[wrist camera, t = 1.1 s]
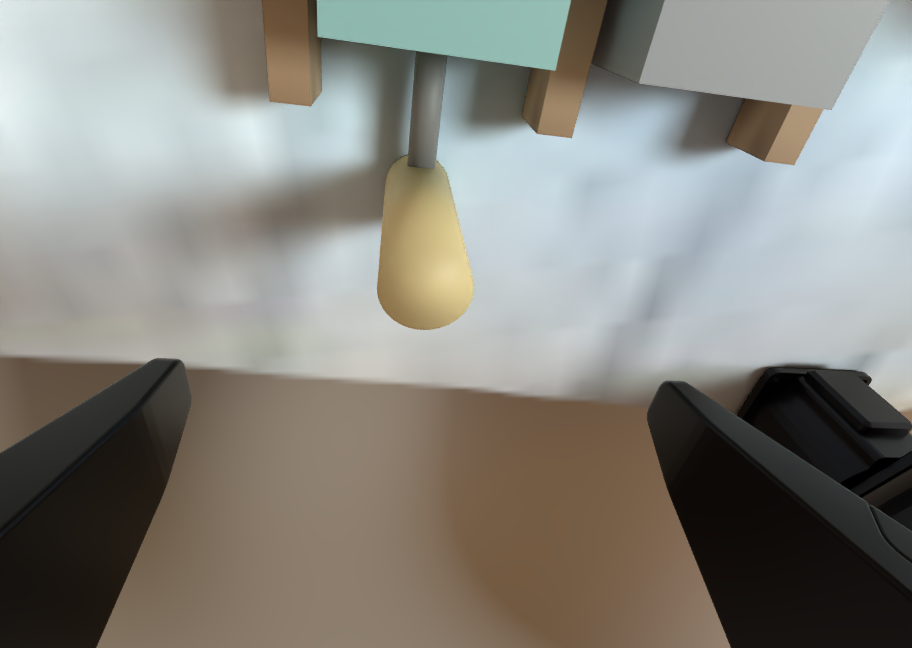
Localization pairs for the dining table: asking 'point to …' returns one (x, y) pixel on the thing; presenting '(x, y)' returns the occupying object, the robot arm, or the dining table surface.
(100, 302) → the dining table surface
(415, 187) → the teal cube mallet
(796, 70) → the slate block
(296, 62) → the shelf
